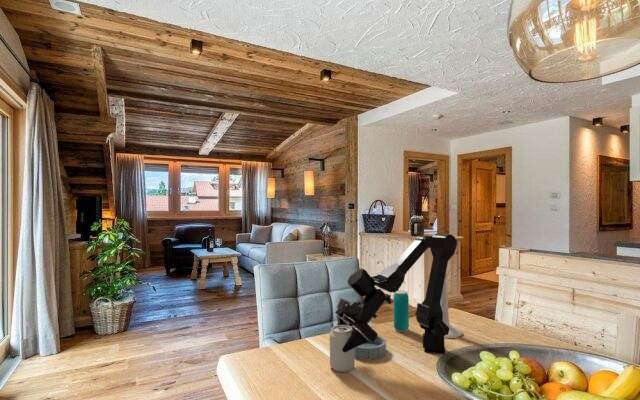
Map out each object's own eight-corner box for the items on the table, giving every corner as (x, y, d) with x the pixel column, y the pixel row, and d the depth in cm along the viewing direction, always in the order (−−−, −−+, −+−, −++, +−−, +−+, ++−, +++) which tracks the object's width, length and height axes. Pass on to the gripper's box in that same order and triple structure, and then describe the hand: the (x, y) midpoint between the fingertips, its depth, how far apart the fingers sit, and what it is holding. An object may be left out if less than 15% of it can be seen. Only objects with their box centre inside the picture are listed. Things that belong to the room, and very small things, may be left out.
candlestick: (425, 336, 131) (424, 255, 132) (428, 325, 143) (427, 251, 143) (462, 340, 126) (460, 257, 127) (462, 329, 138) (461, 252, 139)
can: (357, 364, 109) (356, 325, 109) (351, 375, 102) (350, 333, 102) (334, 360, 111) (333, 322, 111) (326, 371, 104) (326, 330, 104)
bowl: (387, 345, 123) (387, 335, 123) (383, 361, 110) (383, 350, 110) (351, 341, 126) (351, 331, 126) (343, 356, 114) (343, 345, 114)
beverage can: (407, 327, 140) (407, 290, 140) (410, 333, 134) (409, 293, 134) (393, 327, 141) (392, 290, 141) (394, 332, 135) (394, 293, 135)
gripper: (340, 283, 117) (309, 320, 113) (367, 296, 99) (332, 341, 95) (361, 304, 120) (332, 341, 115) (392, 320, 102) (358, 365, 98)
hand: (337, 346), depth 106 cm, fingers closed on can, 7 cm apart
